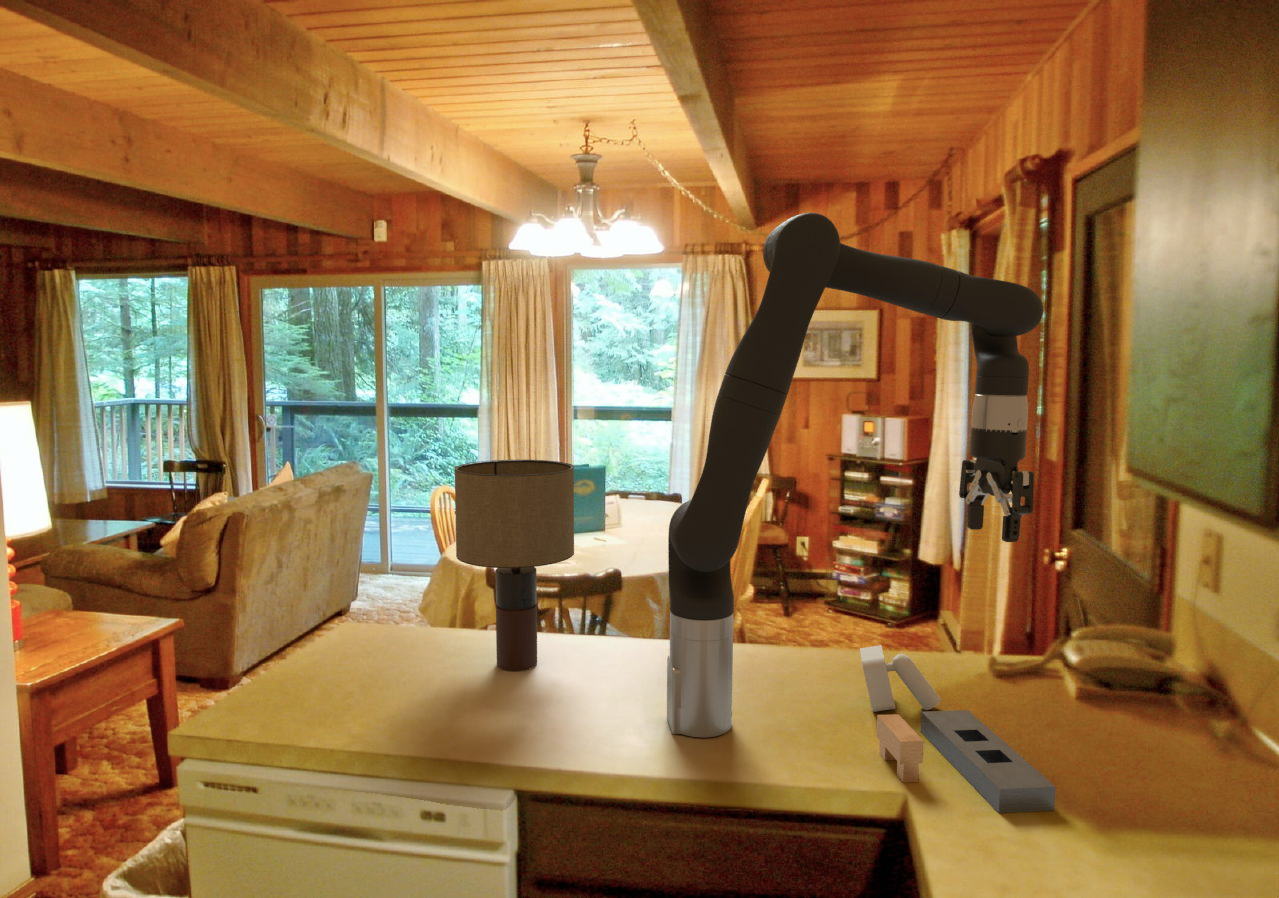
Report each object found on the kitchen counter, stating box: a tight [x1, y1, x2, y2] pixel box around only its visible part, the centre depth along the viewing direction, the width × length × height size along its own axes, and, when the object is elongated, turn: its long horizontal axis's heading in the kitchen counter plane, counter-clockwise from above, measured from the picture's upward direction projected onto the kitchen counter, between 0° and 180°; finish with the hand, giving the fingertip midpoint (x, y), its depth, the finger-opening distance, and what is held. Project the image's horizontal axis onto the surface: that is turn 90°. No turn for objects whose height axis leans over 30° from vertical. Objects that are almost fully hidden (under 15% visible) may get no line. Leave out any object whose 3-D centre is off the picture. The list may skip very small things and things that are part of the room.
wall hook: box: [859, 644, 941, 713], centre depth 131 cm, size 8×10×10 cm
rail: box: [920, 709, 1057, 814], centre depth 112 cm, size 22×7×3 cm, turn 5°
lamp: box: [454, 459, 575, 672], centre depth 147 cm, size 20×20×35 cm
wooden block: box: [876, 713, 925, 784], centre depth 112 cm, size 8×3×6 cm, turn 6°
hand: (991, 535), depth 125 cm, fingers open, 8 cm apart
